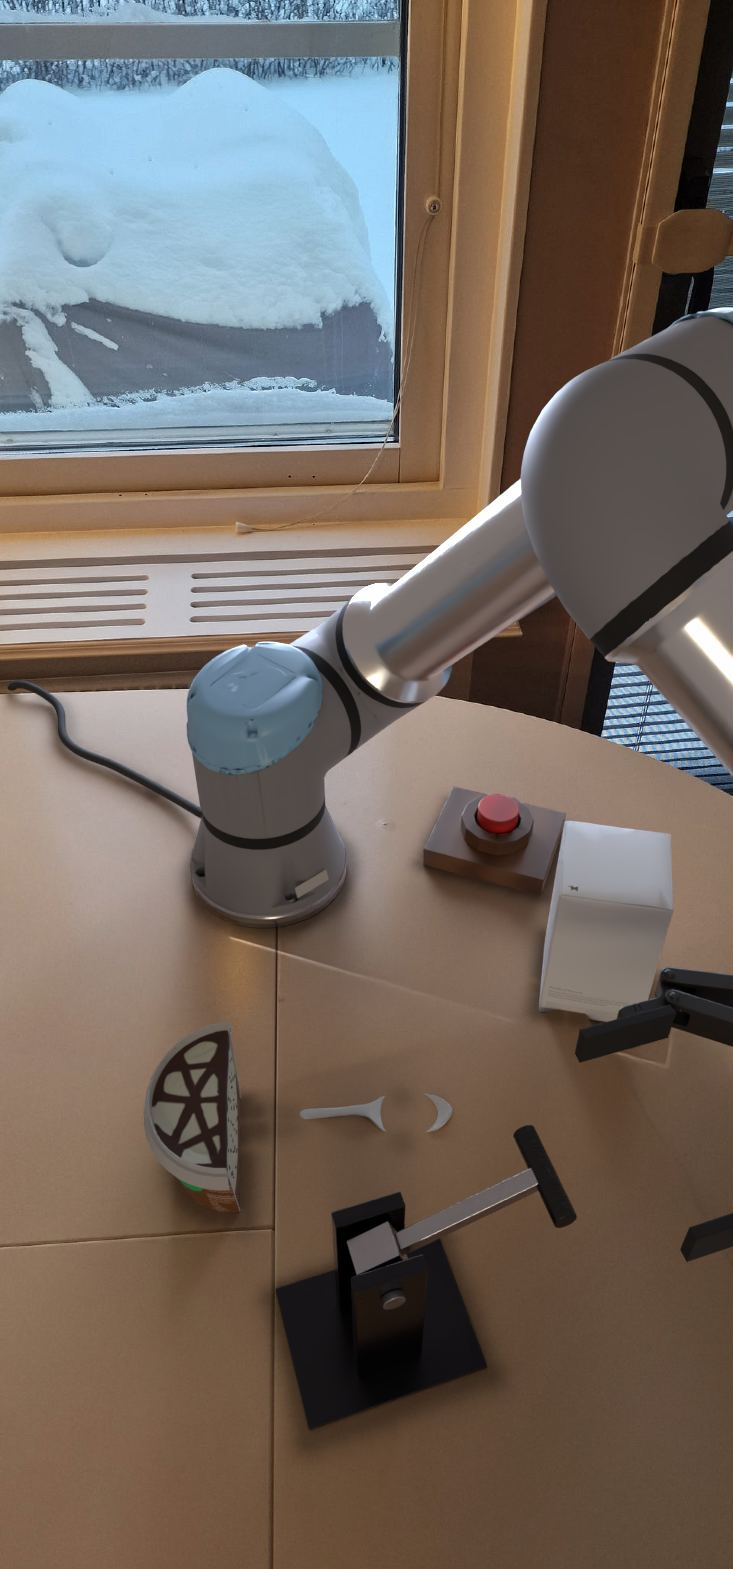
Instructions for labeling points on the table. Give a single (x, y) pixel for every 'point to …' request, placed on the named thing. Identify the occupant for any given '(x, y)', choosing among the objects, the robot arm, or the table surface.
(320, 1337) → the bracket
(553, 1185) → the lever
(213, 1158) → the food container
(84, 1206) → the table surface
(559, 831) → the button block
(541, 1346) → the table surface
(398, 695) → the robot arm
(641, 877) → the rectangular carton
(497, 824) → the button
